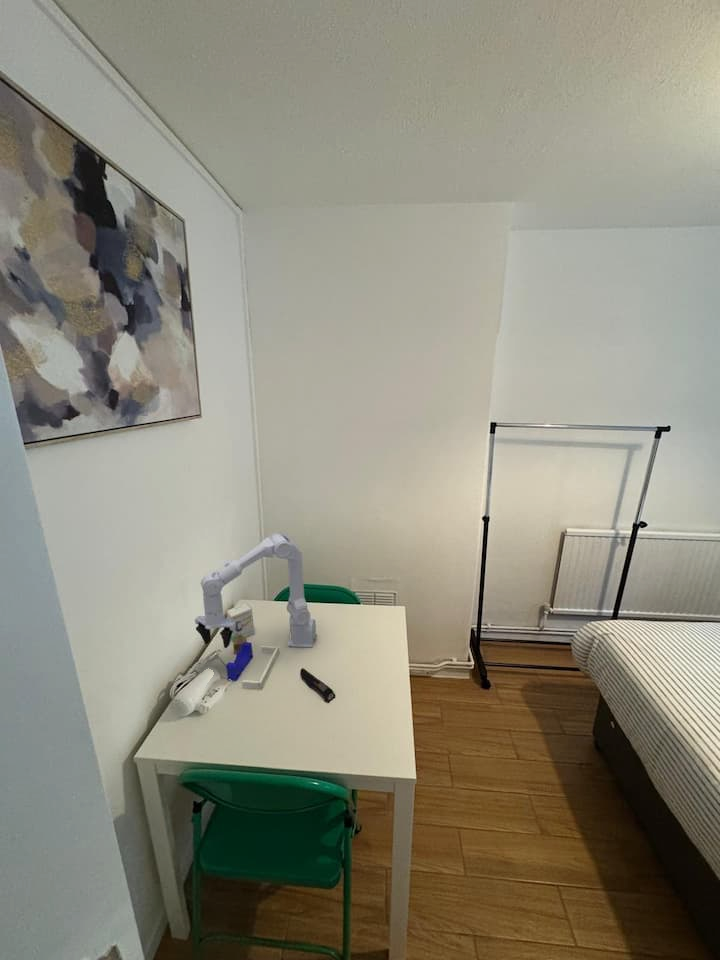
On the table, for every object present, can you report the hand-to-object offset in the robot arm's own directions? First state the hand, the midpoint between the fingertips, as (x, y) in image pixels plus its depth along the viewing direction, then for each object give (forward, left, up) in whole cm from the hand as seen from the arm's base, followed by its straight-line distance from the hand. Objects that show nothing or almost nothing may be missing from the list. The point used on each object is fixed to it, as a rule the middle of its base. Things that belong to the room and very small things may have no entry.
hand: (217, 644), depth 129 cm
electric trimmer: (-36, +6, -10) cm, 37 cm away
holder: (-15, -1, -10) cm, 18 cm away
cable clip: (-6, -1, -10) cm, 12 cm away
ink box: (0, -18, -10) cm, 20 cm away
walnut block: (-3, -10, -10) cm, 14 cm away
